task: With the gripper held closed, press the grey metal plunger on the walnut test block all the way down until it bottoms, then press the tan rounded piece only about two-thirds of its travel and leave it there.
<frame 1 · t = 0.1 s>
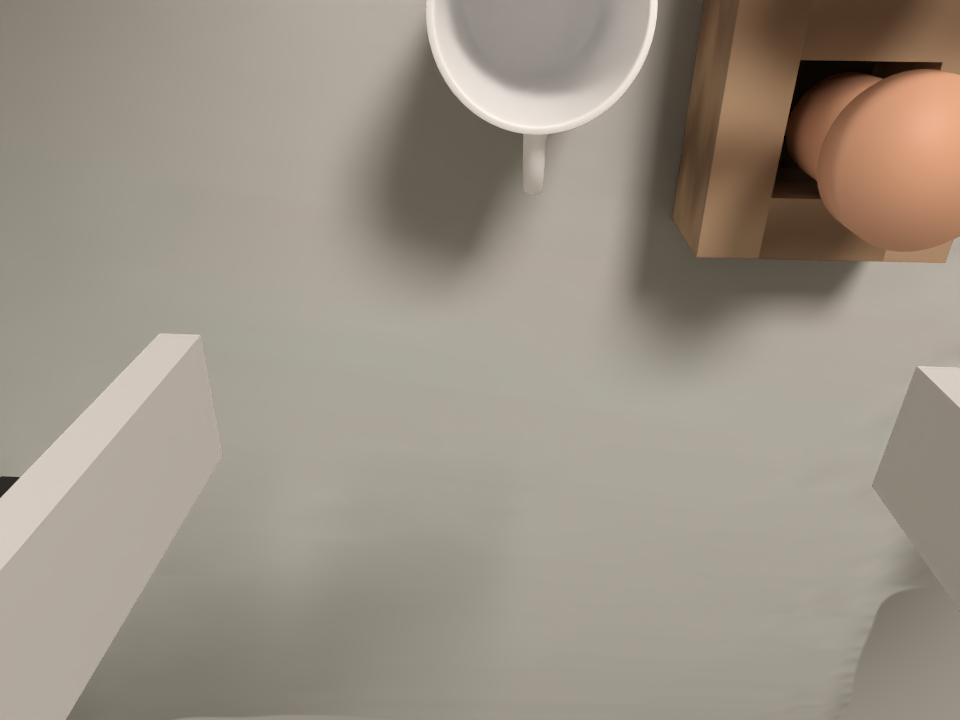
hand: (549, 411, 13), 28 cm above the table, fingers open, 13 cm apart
mug: (527, 38, 36), on the table
tan rounded piece: (878, 145, 29), point 8 cm above the table, slide at 0.0 cm
test block: (827, 3, 35), on the table
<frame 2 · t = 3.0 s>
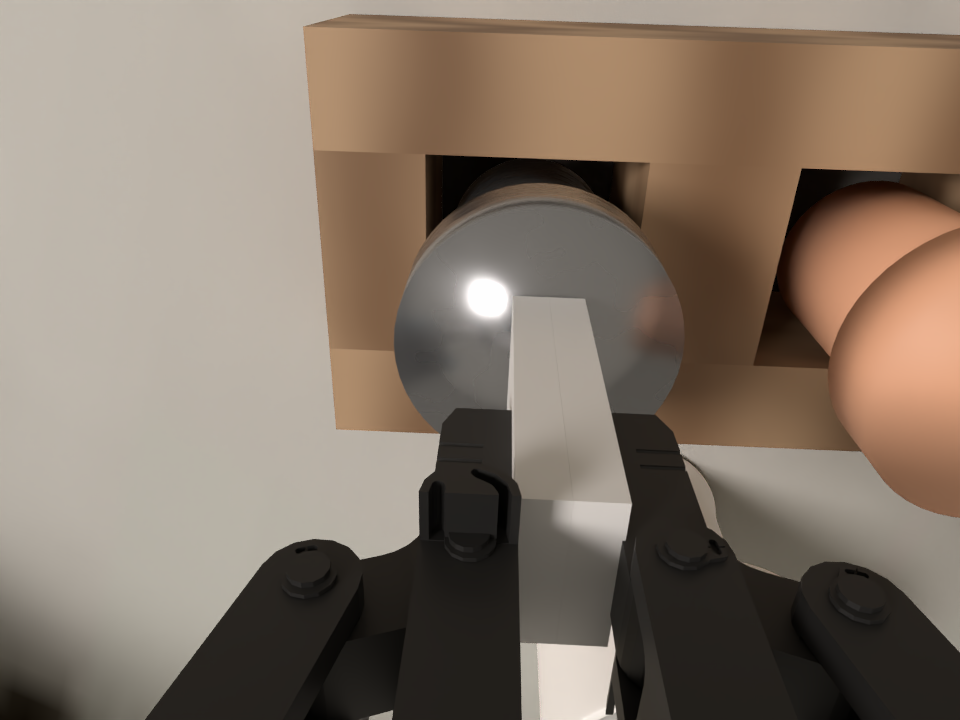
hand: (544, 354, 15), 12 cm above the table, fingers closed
mug: (653, 518, 33), on the table
plunger grey: (531, 281, 19), point 7 cm above the table, slide at 1.2 cm, touching gripper
tan rounded piece: (927, 315, 18), point 8 cm above the table, slide at 0.0 cm
test block: (664, 209, 25), on the table
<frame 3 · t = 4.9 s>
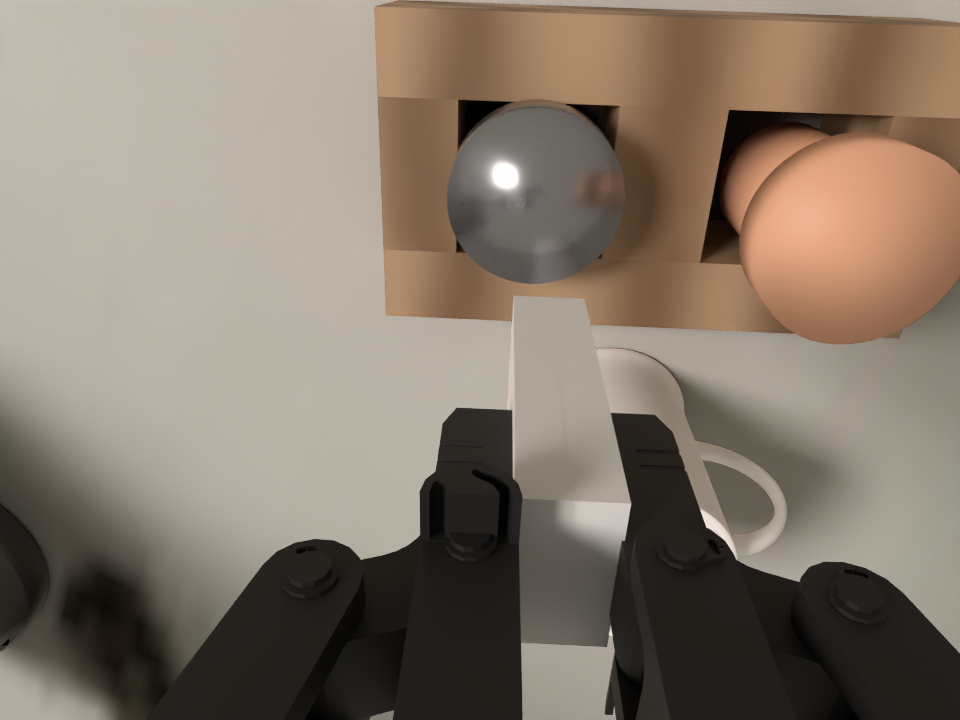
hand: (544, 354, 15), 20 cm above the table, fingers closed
mug: (633, 414, 40), on the table
plunger grey: (532, 173, 29), point 5 cm above the table, slide at 4.0 cm
tan rounded piece: (815, 212, 25), point 8 cm above the table, slide at 0.0 cm
test block: (638, 153, 33), on the table
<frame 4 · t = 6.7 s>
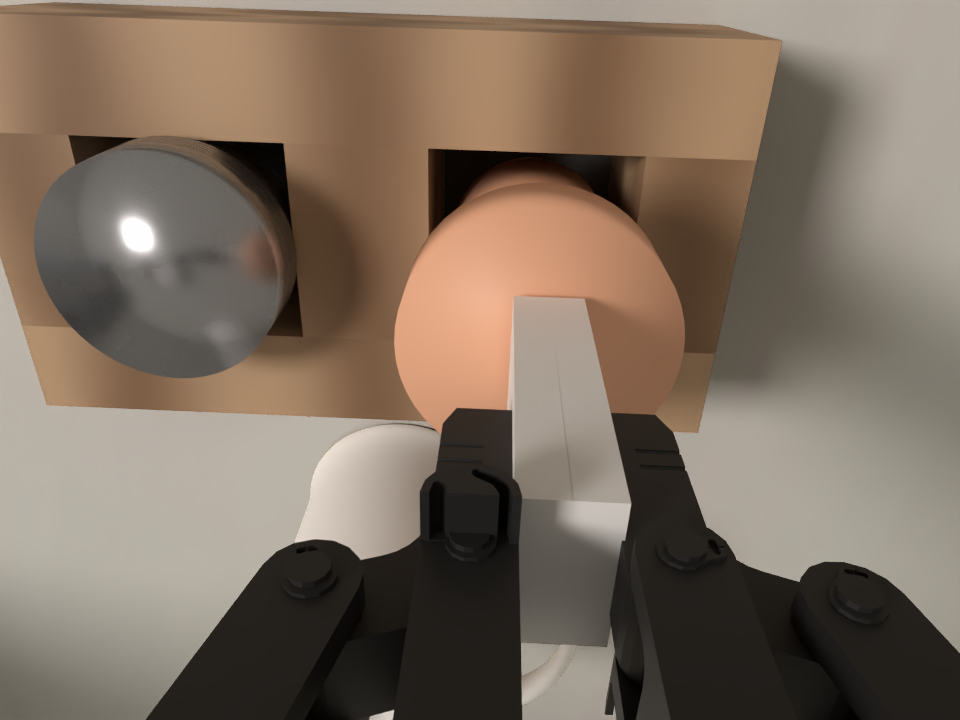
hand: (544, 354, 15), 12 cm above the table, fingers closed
mug: (438, 498, 33), on the table
plunger grey: (211, 226, 22), point 5 cm above the table, slide at 4.0 cm
tan rounded piece: (532, 281, 19), point 8 cm above the table, slide at 0.6 cm, touching gripper
test block: (390, 193, 26), on the table
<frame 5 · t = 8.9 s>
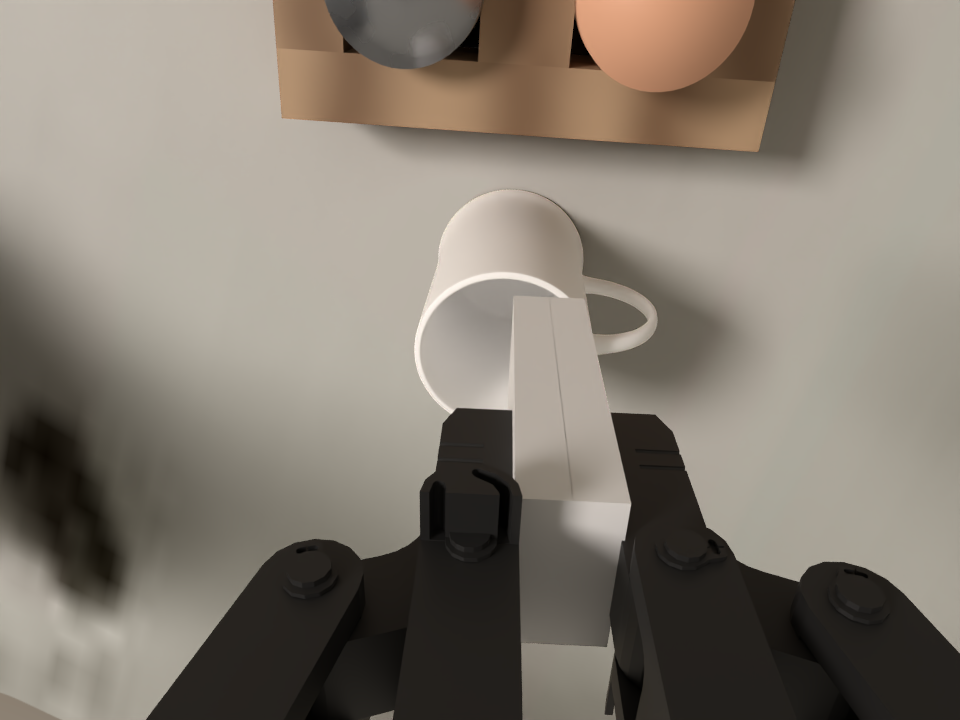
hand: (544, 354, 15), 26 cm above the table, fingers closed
mug: (537, 262, 42), on the table
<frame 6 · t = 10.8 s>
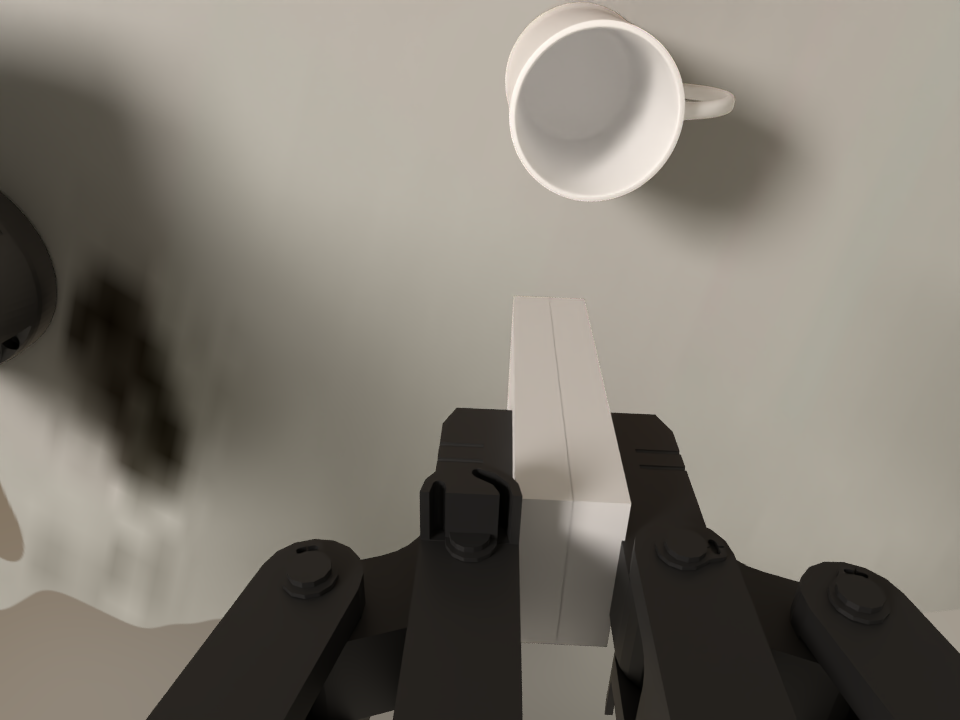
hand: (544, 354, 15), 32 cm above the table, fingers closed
mug: (601, 83, 43), on the table
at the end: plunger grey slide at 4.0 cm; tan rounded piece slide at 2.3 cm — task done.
